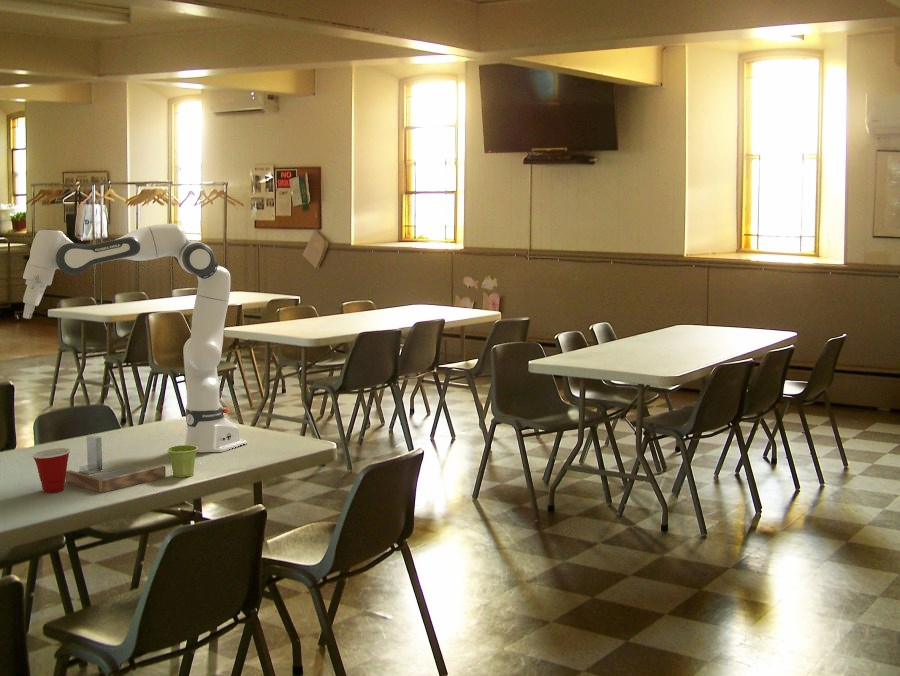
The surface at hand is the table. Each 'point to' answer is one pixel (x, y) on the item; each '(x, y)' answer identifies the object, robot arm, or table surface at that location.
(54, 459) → the plastic cup
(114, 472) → the felt mat
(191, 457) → the plant pot
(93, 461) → the steel bookend
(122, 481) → the corner walls
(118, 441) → the table surface
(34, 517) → the table surface
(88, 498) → the table surface
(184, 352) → the robot arm
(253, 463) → the table surface
